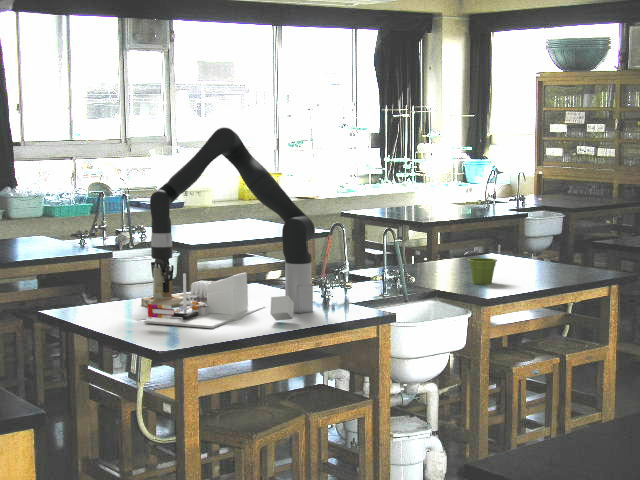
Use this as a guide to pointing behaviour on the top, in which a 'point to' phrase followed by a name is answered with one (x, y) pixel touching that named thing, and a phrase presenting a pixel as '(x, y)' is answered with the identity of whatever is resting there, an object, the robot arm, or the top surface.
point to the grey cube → (282, 308)
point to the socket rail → (164, 300)
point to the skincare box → (160, 286)
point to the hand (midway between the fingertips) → (162, 291)
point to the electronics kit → (207, 304)
